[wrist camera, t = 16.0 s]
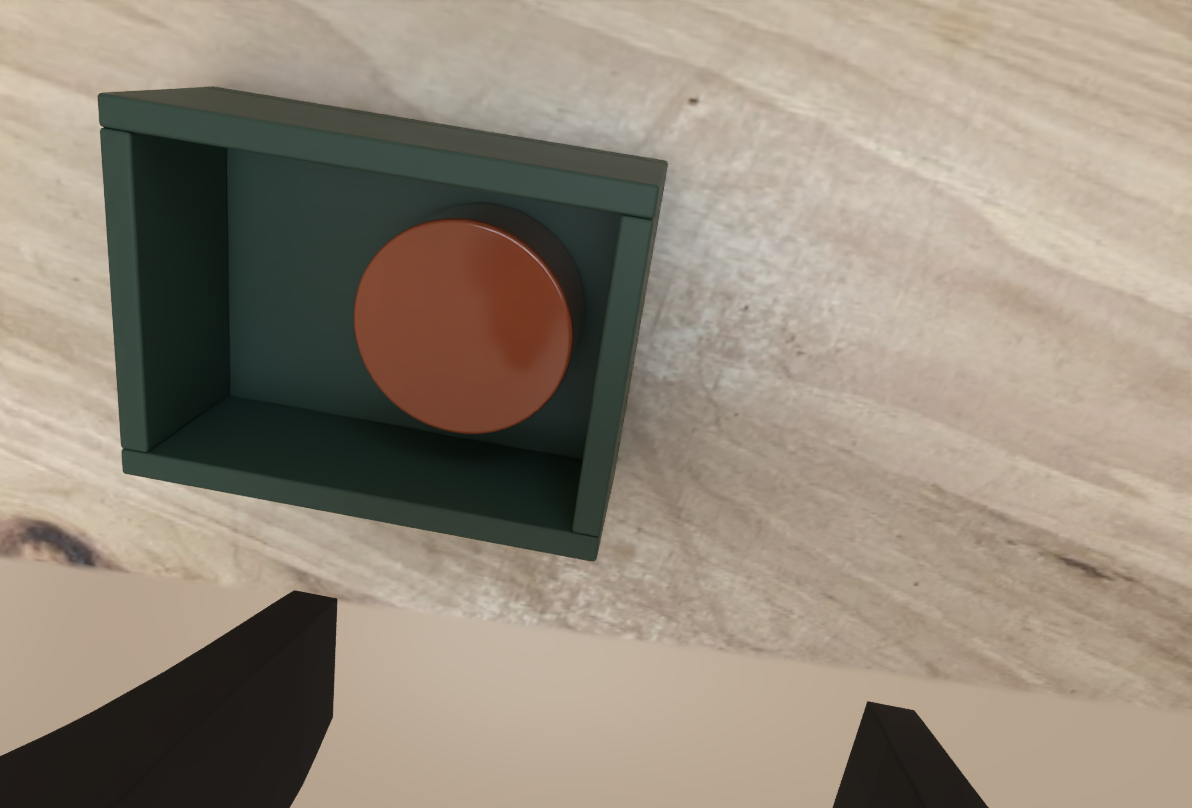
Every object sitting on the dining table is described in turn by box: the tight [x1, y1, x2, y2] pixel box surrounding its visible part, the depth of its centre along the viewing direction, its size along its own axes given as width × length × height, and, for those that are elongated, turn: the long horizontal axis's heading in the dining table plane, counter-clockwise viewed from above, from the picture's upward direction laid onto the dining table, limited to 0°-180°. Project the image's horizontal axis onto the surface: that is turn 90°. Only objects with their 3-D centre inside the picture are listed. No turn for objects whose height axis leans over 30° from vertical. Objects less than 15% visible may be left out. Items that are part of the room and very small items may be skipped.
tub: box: [98, 87, 668, 561], centre depth 19 cm, size 8×10×4 cm
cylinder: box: [354, 203, 585, 434], centre depth 19 cm, size 5×5×2 cm
